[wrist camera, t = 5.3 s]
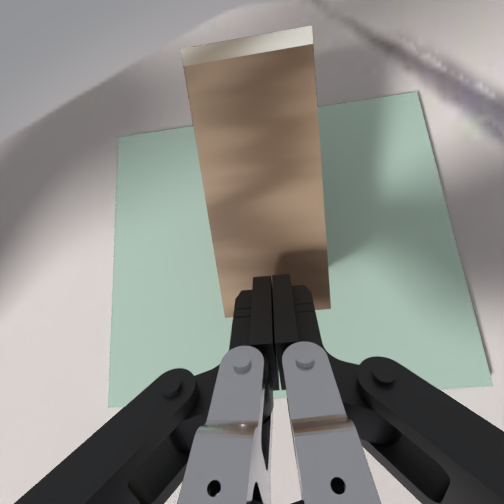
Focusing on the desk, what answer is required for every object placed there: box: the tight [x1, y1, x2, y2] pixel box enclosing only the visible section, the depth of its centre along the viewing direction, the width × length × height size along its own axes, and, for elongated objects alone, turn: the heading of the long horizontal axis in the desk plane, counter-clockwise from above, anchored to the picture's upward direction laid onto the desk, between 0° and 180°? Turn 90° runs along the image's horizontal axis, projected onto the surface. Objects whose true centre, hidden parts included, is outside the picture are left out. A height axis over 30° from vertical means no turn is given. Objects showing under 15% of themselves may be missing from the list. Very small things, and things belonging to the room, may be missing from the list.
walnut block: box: [181, 25, 331, 318], centre depth 15 cm, size 5×5×11 cm
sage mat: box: [108, 92, 493, 408], centre depth 20 cm, size 22×19×1 cm
